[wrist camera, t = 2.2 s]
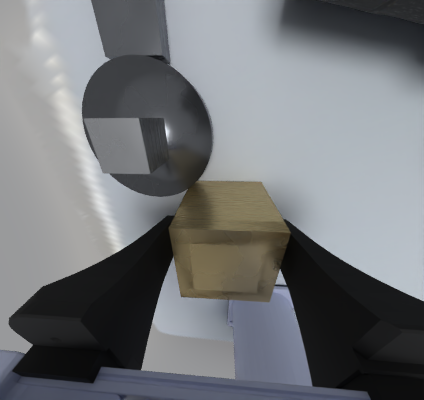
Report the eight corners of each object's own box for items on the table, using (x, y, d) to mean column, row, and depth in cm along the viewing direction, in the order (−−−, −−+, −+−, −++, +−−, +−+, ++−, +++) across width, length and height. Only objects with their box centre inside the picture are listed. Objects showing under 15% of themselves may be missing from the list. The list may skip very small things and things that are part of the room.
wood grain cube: (252, 235, 15) (269, 302, 9) (195, 233, 15) (181, 296, 10) (261, 182, 12) (290, 232, 7) (191, 180, 12) (168, 228, 7)
